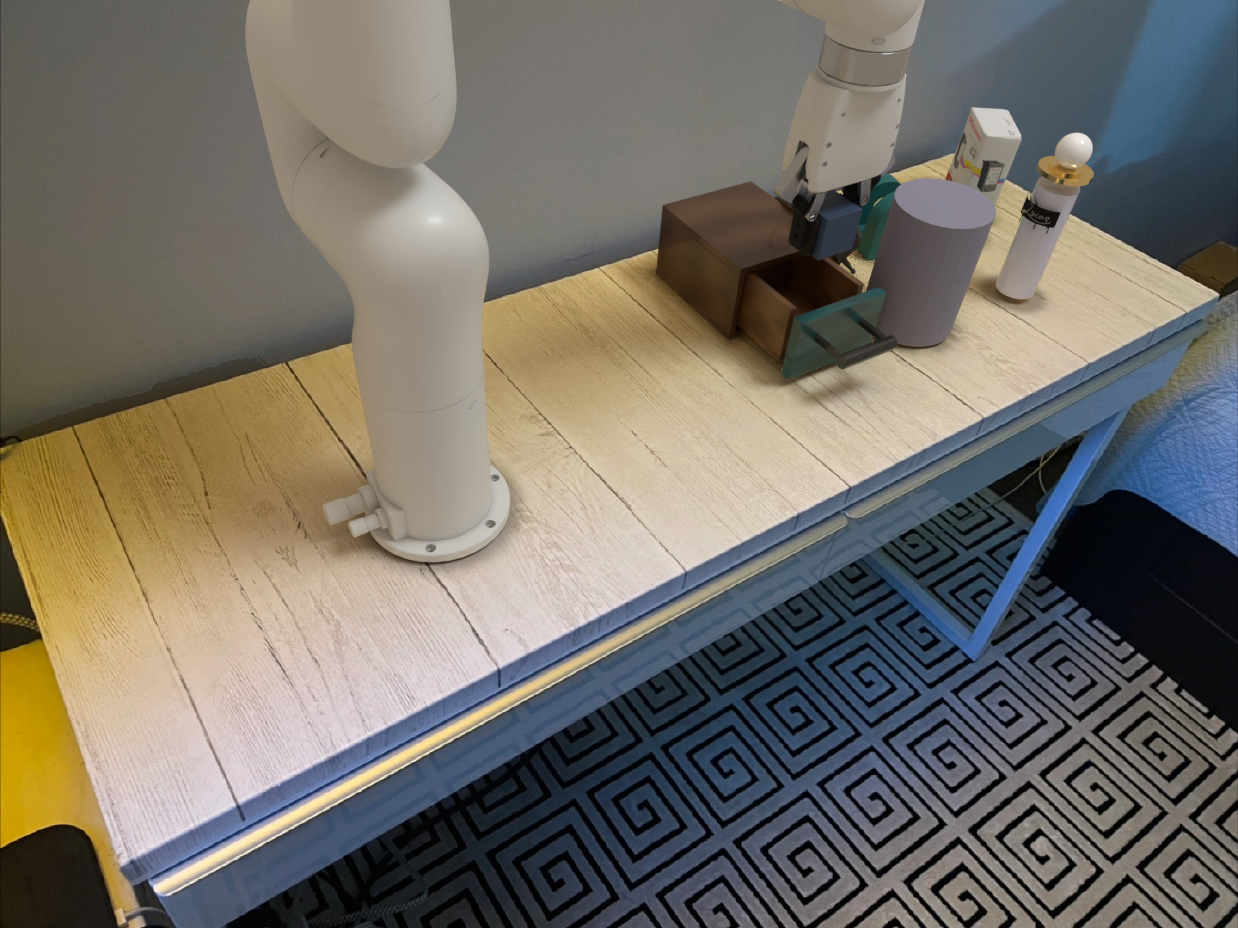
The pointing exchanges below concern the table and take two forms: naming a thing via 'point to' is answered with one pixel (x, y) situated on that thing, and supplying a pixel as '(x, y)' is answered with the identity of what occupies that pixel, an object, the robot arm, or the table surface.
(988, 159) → the ink box
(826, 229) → the block
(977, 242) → the container
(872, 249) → the bracket
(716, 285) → the cabinet
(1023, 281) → the perfume bottle
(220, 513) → the table surface
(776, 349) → the drawer
